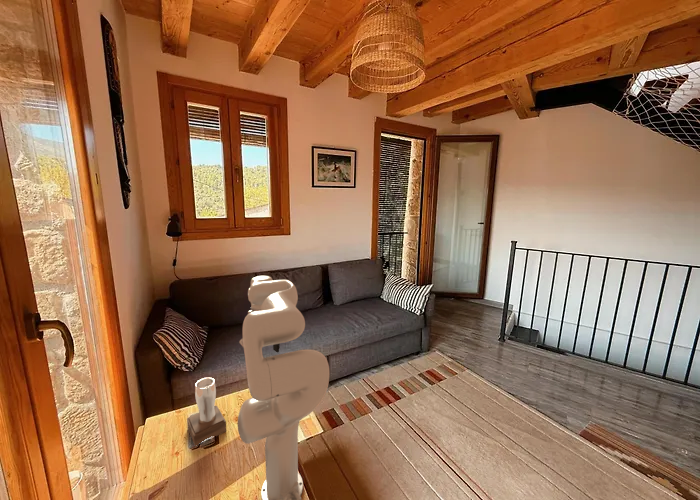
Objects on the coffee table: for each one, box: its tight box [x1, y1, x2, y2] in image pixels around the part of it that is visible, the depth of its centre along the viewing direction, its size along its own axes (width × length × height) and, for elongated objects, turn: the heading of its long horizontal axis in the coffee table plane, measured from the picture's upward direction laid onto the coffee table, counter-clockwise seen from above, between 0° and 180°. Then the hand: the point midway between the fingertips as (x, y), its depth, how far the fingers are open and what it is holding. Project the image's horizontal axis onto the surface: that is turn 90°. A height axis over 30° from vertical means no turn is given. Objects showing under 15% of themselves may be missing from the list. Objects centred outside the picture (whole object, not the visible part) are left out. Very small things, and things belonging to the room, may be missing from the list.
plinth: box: [186, 405, 227, 447], centre depth 110 cm, size 11×11×5 cm
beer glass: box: [194, 377, 217, 424], centre depth 108 cm, size 7×7×15 cm
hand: (264, 355), depth 104 cm, fingers open, 9 cm apart
